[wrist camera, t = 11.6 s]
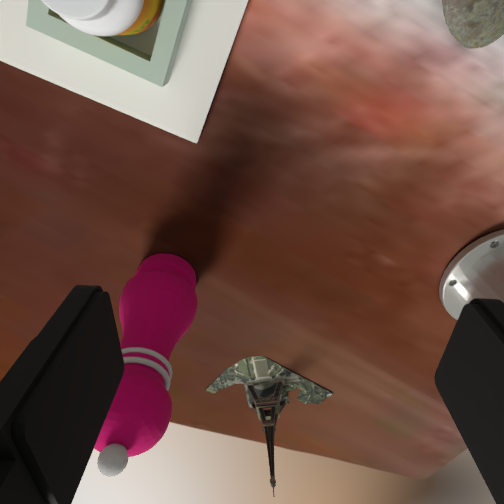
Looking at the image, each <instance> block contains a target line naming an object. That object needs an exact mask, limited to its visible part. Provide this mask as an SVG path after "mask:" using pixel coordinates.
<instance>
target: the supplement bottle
mask: <svg viewBox="0 0 504 504" xmlns="http://www.w3.org/2000/svg"><path fill="white" fill-rule="evenodd" d="M41 1H42V2H43V3H44V4H45V5H46V6H47V7H49V8H50V9H51V10H53V11H54V12H55V13H57V14H59V15H60V17H61V18H63V19H64V20H65V21H66V22H67V23H69V24H70V25H71V26H73V27H75V28H76V29H78V30H80V31H82V32H85V33H87V34H91V35H96V36H118V35H135V34H140V33H143V32H145V31H147V30H149V29H150V28H152V27H153V26H154V25H155V24H156V22H157V21H158V20H159V18H160V16H161V14H162V11H163V8H164V4H165V0H41Z"/></svg>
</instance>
